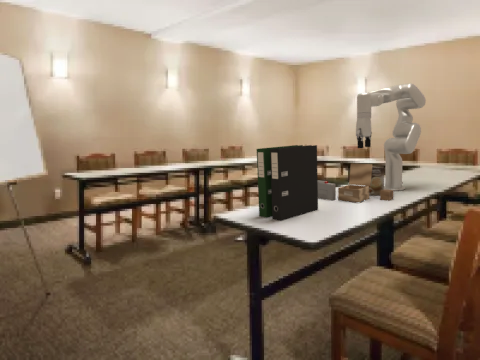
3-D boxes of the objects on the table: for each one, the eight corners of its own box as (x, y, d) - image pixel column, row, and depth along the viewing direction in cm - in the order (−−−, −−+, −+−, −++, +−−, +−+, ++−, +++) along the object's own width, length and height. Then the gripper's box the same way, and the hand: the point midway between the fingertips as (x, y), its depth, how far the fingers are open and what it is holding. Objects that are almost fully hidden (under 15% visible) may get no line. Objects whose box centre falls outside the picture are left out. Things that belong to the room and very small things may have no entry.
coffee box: (367, 195, 204) (367, 168, 202) (364, 193, 210) (365, 166, 208) (384, 195, 203) (384, 167, 201) (381, 193, 209) (381, 166, 207)
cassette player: (335, 199, 198) (335, 182, 196) (332, 200, 196) (332, 182, 195) (315, 196, 211) (315, 179, 209) (312, 196, 209) (311, 180, 208)
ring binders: (297, 206, 186) (296, 145, 182) (320, 210, 175) (319, 145, 170) (259, 216, 169) (256, 148, 165) (281, 221, 158) (279, 149, 153)
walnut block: (384, 198, 196) (384, 189, 195) (393, 199, 192) (393, 190, 192) (380, 199, 193) (380, 190, 192) (389, 200, 189) (389, 191, 188)
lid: (349, 184, 203) (349, 184, 204) (369, 186, 194) (370, 186, 195) (350, 163, 203) (351, 163, 204) (371, 164, 194) (372, 164, 195)
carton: (349, 196, 204) (349, 184, 203) (369, 198, 195) (369, 186, 194) (338, 200, 196) (338, 187, 195) (358, 202, 187) (358, 189, 186)
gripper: (364, 116, 206) (364, 146, 208) (350, 116, 194) (350, 148, 196) (377, 115, 201) (377, 146, 203) (363, 115, 188) (363, 148, 191)
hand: (364, 147), depth 200 cm, fingers open, 8 cm apart
